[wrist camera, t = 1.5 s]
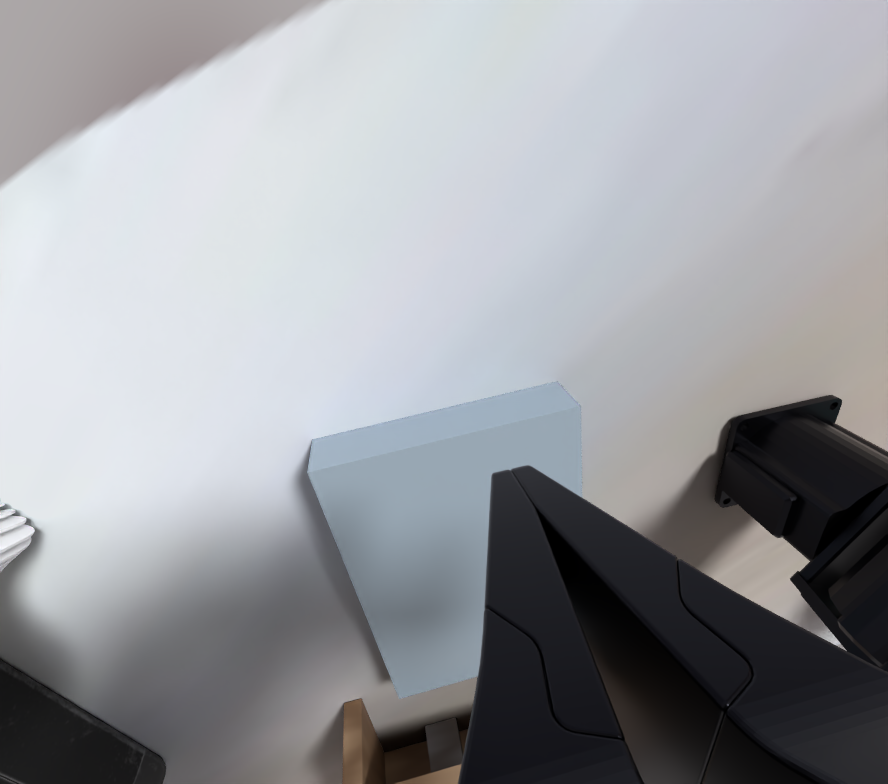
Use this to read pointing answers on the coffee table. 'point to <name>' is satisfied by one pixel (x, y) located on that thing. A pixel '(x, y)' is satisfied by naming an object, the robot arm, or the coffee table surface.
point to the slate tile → (435, 518)
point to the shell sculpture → (12, 536)
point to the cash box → (63, 741)
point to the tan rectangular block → (400, 753)
